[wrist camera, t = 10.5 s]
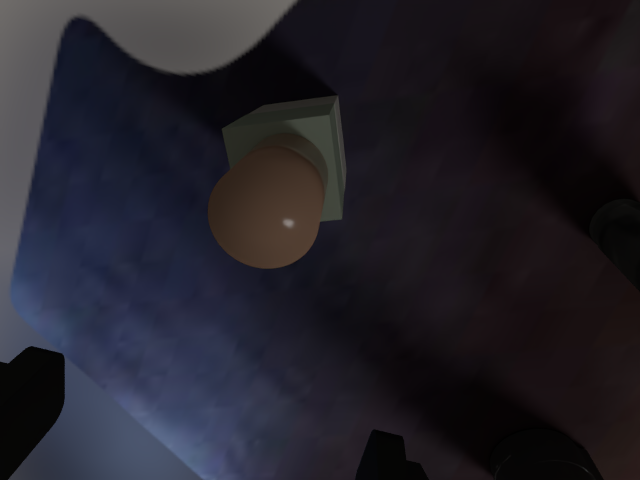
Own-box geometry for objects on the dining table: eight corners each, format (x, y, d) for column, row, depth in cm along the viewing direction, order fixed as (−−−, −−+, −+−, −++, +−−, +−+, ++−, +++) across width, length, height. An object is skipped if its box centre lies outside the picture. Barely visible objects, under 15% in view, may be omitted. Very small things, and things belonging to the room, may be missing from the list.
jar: (337, 144, 24) (330, 178, 18) (318, 223, 26) (306, 279, 20) (252, 124, 24) (215, 150, 18) (239, 204, 26) (201, 254, 20)
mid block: (334, 103, 29) (329, 115, 24) (344, 190, 32) (341, 219, 26) (246, 114, 30) (221, 128, 25) (262, 199, 32) (243, 229, 27)
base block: (337, 95, 35) (334, 103, 29) (346, 169, 37) (344, 190, 32) (263, 105, 36) (246, 114, 30) (276, 177, 38) (262, 199, 32)
